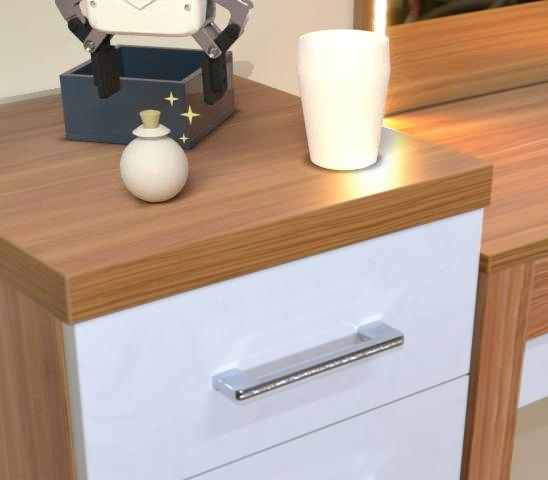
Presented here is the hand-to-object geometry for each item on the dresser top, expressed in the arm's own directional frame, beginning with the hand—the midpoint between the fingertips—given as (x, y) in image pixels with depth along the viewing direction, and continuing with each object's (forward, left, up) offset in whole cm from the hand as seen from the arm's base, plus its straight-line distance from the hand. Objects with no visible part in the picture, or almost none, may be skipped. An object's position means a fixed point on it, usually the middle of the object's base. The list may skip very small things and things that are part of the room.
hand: (161, 97), depth 100 cm
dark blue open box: (+22, +10, -9) cm, 26 cm away
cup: (+15, -13, -10) cm, 22 cm away
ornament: (0, 0, -10) cm, 10 cm away
